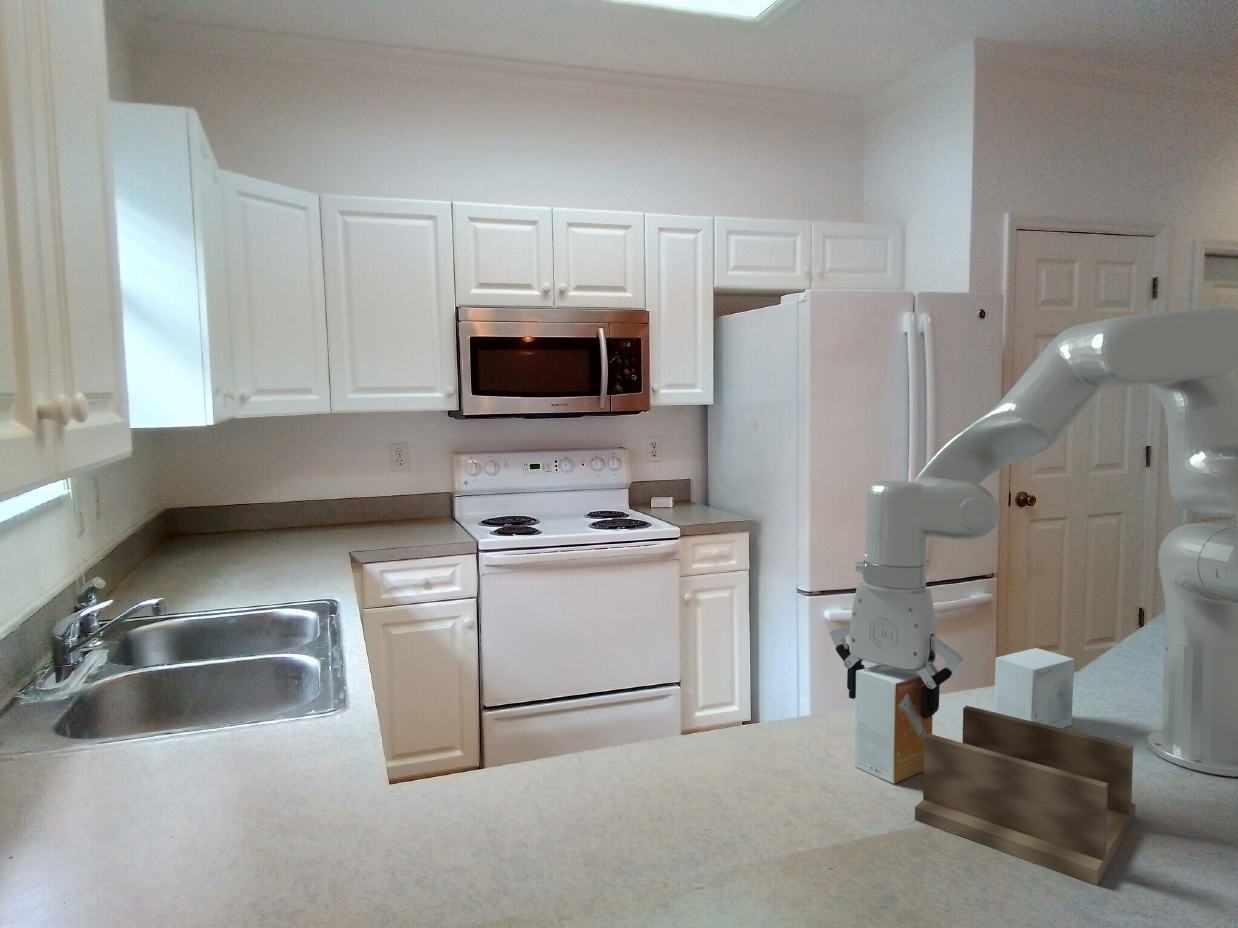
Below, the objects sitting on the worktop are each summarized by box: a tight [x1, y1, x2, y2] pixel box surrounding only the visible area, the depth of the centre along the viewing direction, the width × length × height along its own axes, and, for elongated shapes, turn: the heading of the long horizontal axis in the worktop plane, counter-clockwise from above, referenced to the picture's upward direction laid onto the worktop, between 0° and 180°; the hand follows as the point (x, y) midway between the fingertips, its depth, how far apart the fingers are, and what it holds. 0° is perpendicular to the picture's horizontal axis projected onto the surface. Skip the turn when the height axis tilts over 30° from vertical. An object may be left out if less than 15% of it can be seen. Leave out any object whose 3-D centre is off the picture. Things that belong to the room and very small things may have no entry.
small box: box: [854, 664, 934, 785], centre depth 99 cm, size 8×6×13 cm
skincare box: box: [992, 647, 1075, 729], centre depth 113 cm, size 10×6×10 cm, turn 120°
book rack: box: [914, 705, 1137, 886], centre depth 86 cm, size 18×18×9 cm
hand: (891, 705), depth 99 cm, fingers open, 9 cm apart
